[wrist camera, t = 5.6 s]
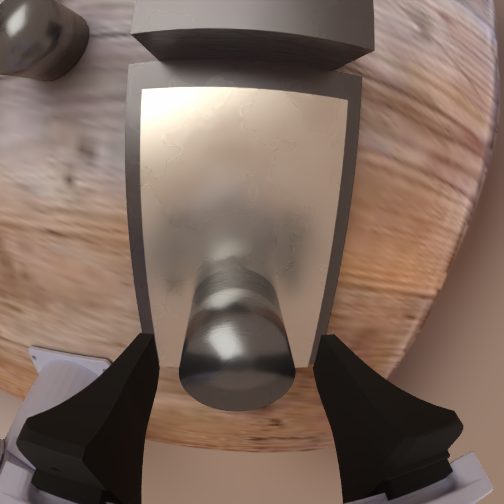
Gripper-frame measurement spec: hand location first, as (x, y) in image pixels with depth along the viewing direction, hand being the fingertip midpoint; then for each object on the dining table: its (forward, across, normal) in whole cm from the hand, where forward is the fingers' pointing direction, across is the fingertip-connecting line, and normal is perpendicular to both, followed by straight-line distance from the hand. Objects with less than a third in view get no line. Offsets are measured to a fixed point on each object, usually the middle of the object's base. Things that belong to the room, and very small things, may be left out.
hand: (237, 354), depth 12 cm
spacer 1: (+6, +11, -15) cm, 19 cm away
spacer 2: (+3, 0, 0) cm, 3 cm away
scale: (+6, 0, -6) cm, 8 cm away
